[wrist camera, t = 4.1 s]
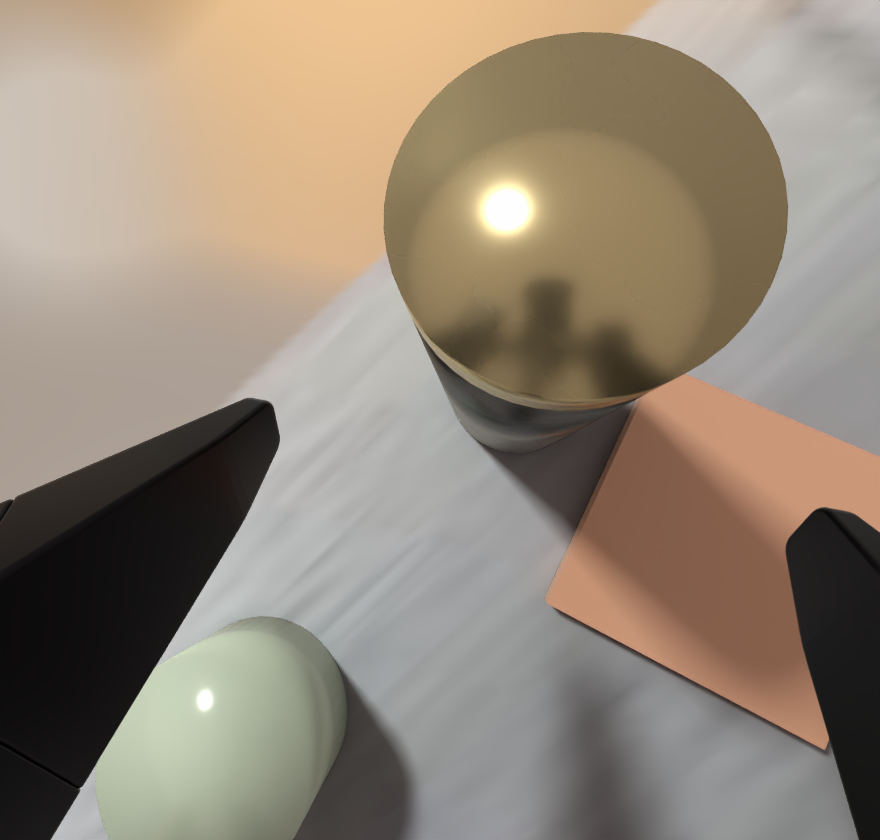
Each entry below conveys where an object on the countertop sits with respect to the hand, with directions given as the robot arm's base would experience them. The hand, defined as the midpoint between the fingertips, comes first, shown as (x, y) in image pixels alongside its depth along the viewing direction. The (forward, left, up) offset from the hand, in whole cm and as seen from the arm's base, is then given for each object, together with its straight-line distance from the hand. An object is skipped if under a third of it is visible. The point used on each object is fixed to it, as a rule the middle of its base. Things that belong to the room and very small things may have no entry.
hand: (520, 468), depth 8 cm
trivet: (+2, -9, -10) cm, 14 cm away
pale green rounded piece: (-12, +4, -11) cm, 17 cm away
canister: (+4, +1, -11) cm, 11 cm away
